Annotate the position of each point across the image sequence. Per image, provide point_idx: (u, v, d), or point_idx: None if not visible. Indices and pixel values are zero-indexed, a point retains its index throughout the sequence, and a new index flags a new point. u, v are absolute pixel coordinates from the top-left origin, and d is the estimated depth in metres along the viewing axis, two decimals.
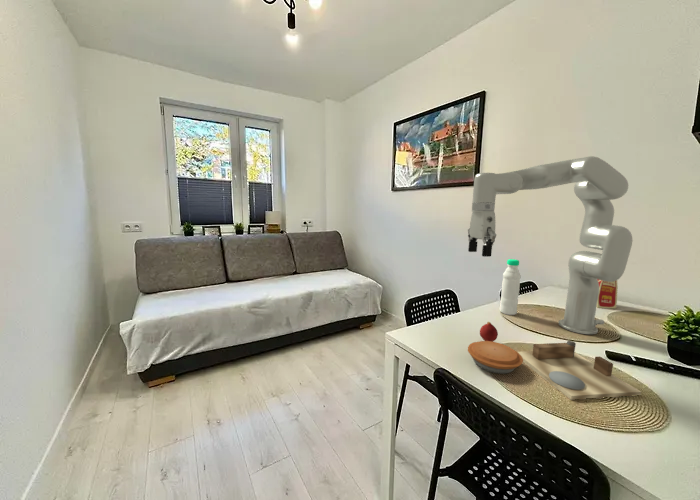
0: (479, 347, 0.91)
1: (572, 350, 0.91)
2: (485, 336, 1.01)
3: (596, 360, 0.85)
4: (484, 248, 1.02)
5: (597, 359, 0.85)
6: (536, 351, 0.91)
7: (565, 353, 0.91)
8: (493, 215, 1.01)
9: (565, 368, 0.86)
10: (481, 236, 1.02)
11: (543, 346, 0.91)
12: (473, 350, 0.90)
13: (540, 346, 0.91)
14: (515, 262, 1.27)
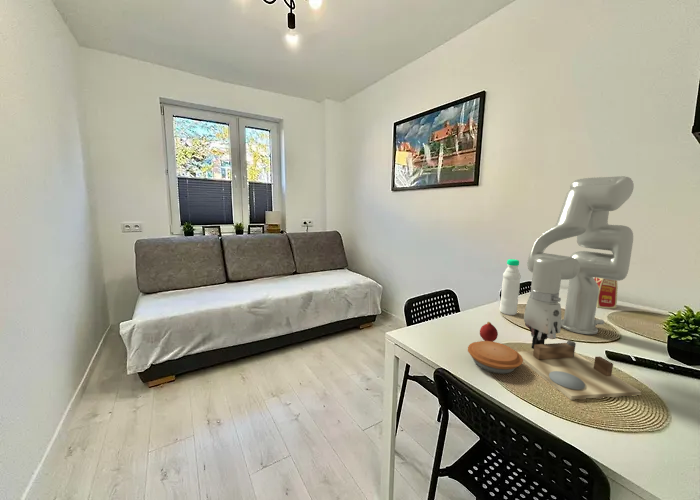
0: (479, 347, 0.91)
1: (572, 350, 0.91)
2: (485, 336, 1.01)
3: (596, 360, 0.85)
4: (537, 342, 0.93)
5: (597, 359, 0.85)
6: (537, 352, 0.91)
7: (565, 353, 0.91)
8: (559, 308, 0.88)
9: (565, 368, 0.86)
10: (546, 331, 0.89)
11: (544, 346, 0.90)
12: (473, 350, 0.90)
13: (541, 346, 0.90)
14: (515, 262, 1.27)
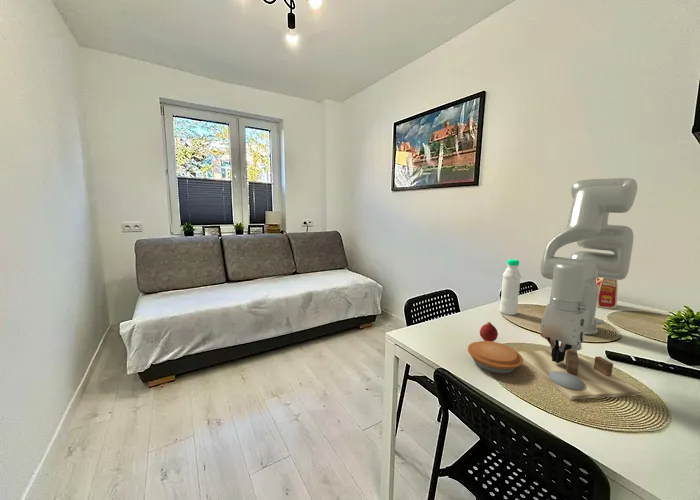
0: (479, 347, 0.91)
1: None
2: (485, 336, 1.01)
3: (596, 360, 0.85)
4: (559, 354, 0.86)
5: (597, 359, 0.85)
6: (574, 367, 0.82)
7: None
8: (584, 316, 0.82)
9: (565, 368, 0.86)
10: (572, 342, 0.82)
11: (575, 358, 0.84)
12: (473, 350, 0.90)
13: (575, 360, 0.83)
14: (515, 262, 1.27)
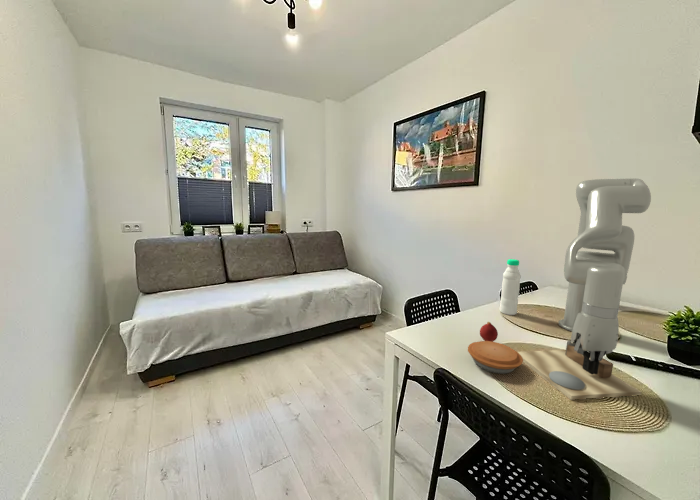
0: (479, 347, 0.91)
1: None
2: (485, 336, 1.01)
3: None
4: None
5: None
6: (608, 370, 0.81)
7: None
8: None
9: (565, 368, 0.86)
10: (614, 347, 0.79)
11: (603, 361, 0.82)
12: (473, 350, 0.90)
13: (606, 363, 0.81)
14: (515, 262, 1.27)
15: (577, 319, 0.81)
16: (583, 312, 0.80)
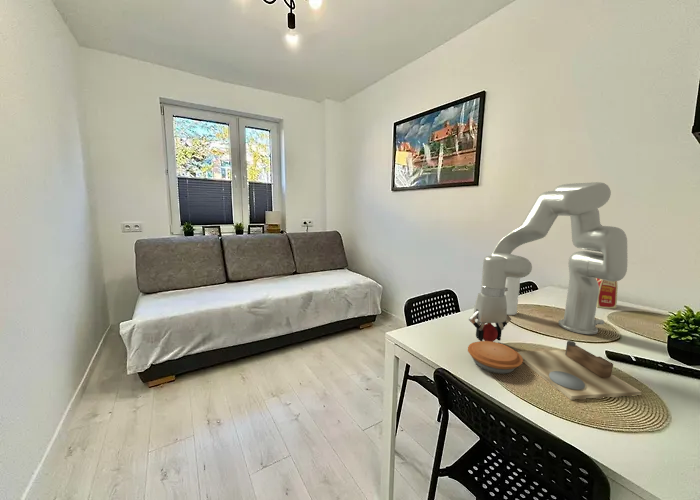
0: (479, 347, 0.91)
1: None
2: (485, 336, 1.01)
3: None
4: None
5: None
6: (608, 370, 0.81)
7: None
8: None
9: (565, 368, 0.86)
10: (504, 320, 1.01)
11: (603, 361, 0.82)
12: (473, 350, 0.90)
13: (606, 363, 0.81)
14: None
15: (477, 298, 1.02)
16: (481, 292, 1.01)
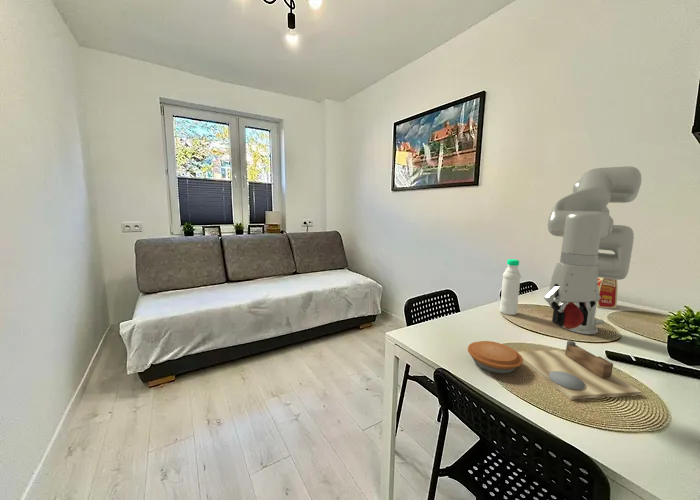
0: (479, 347, 0.91)
1: None
2: (567, 320, 0.76)
3: None
4: None
5: None
6: (608, 370, 0.81)
7: None
8: None
9: (565, 368, 0.86)
10: (593, 298, 0.75)
11: (603, 361, 0.82)
12: (473, 350, 0.90)
13: (606, 363, 0.81)
14: (515, 262, 1.27)
15: (555, 270, 0.77)
16: (561, 262, 0.76)
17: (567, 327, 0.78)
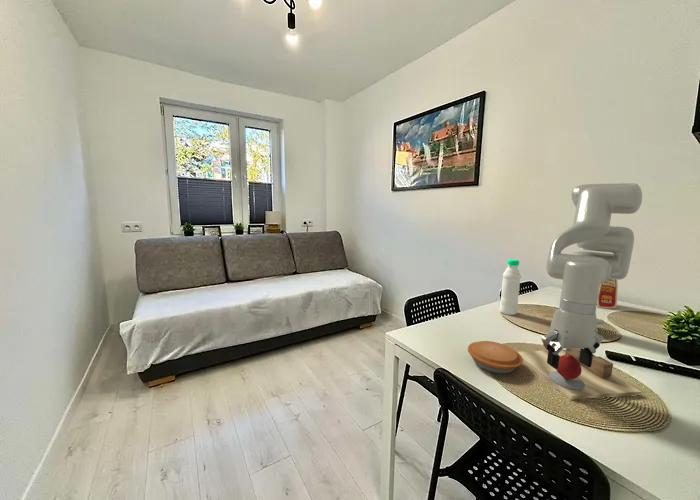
0: (479, 347, 0.91)
1: None
2: (565, 373, 0.77)
3: None
4: None
5: None
6: (608, 370, 0.81)
7: None
8: None
9: None
10: (592, 344, 0.76)
11: (603, 361, 0.82)
12: (473, 350, 0.90)
13: (606, 363, 0.81)
14: (515, 262, 1.27)
15: (555, 315, 0.78)
16: (561, 308, 0.77)
17: (565, 378, 0.79)
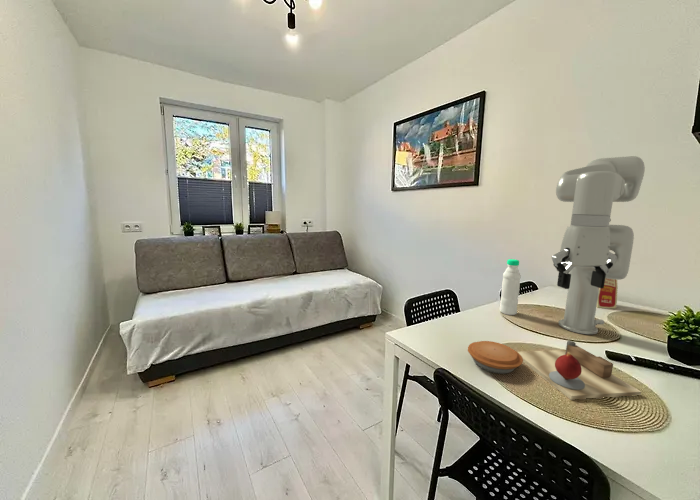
0: (479, 347, 0.91)
1: None
2: (565, 372, 0.77)
3: None
4: None
5: None
6: (608, 370, 0.81)
7: None
8: None
9: None
10: (605, 262, 0.73)
11: (603, 361, 0.82)
12: (473, 350, 0.90)
13: (606, 363, 0.81)
14: (515, 262, 1.27)
15: (566, 233, 0.74)
16: (572, 225, 0.73)
17: (565, 378, 0.79)
